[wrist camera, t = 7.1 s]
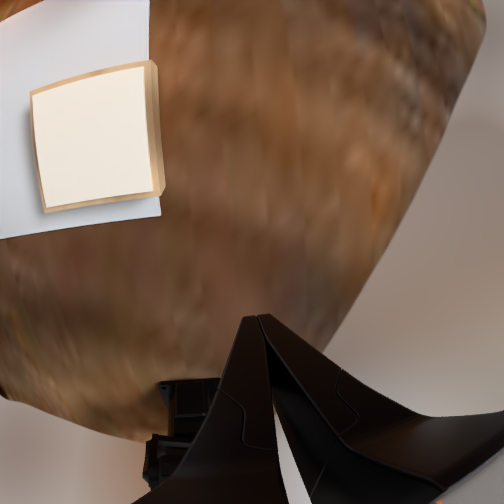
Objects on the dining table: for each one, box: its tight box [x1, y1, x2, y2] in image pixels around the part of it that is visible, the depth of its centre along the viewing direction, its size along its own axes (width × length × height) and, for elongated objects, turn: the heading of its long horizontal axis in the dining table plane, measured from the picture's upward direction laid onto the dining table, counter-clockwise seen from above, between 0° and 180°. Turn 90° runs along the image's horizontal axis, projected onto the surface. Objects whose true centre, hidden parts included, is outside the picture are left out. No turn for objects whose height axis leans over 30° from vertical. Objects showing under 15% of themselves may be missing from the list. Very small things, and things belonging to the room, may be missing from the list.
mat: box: [0, 0, 161, 239], centre depth 15 cm, size 18×16×1 cm
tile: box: [30, 60, 166, 213], centre depth 15 cm, size 8×3×8 cm
